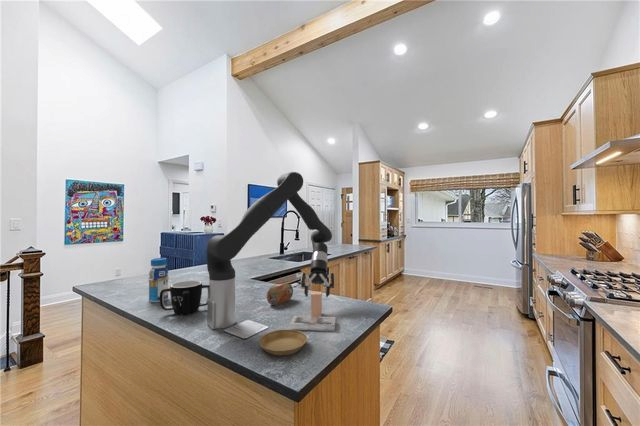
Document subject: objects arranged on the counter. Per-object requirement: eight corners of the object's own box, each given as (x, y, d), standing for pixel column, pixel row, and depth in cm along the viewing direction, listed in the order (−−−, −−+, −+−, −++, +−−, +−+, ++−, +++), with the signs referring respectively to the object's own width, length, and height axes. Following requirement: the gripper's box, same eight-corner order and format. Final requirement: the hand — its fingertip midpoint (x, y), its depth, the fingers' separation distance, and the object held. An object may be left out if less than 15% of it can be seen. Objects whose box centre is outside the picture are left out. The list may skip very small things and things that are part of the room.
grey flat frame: (289, 329, 97) (289, 323, 97) (293, 320, 105) (293, 315, 105) (334, 331, 95) (334, 325, 95) (335, 322, 103) (335, 316, 103)
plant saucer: (250, 346, 85) (250, 337, 85) (289, 333, 94) (289, 325, 95) (274, 365, 74) (274, 356, 74) (316, 348, 83) (316, 340, 83)
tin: (270, 307, 120) (270, 288, 121) (265, 306, 122) (265, 287, 122) (293, 299, 132) (293, 282, 133) (288, 298, 134) (288, 281, 134)
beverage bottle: (149, 298, 134) (150, 258, 135) (169, 296, 138) (169, 257, 138) (147, 303, 127) (147, 260, 127) (167, 301, 130) (168, 259, 130)
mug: (156, 314, 112) (156, 285, 112) (190, 303, 126) (190, 277, 126) (181, 321, 104) (181, 290, 105) (215, 309, 119) (215, 281, 119)
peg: (320, 317, 109) (320, 294, 109) (311, 316, 109) (310, 294, 109) (321, 313, 113) (321, 291, 113) (312, 313, 113) (312, 291, 113)
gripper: (302, 258, 123) (298, 290, 111) (334, 258, 121) (333, 291, 110) (304, 268, 128) (300, 299, 116) (335, 268, 127) (334, 300, 115)
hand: (316, 295), depth 113 cm, fingers open, 8 cm apart
